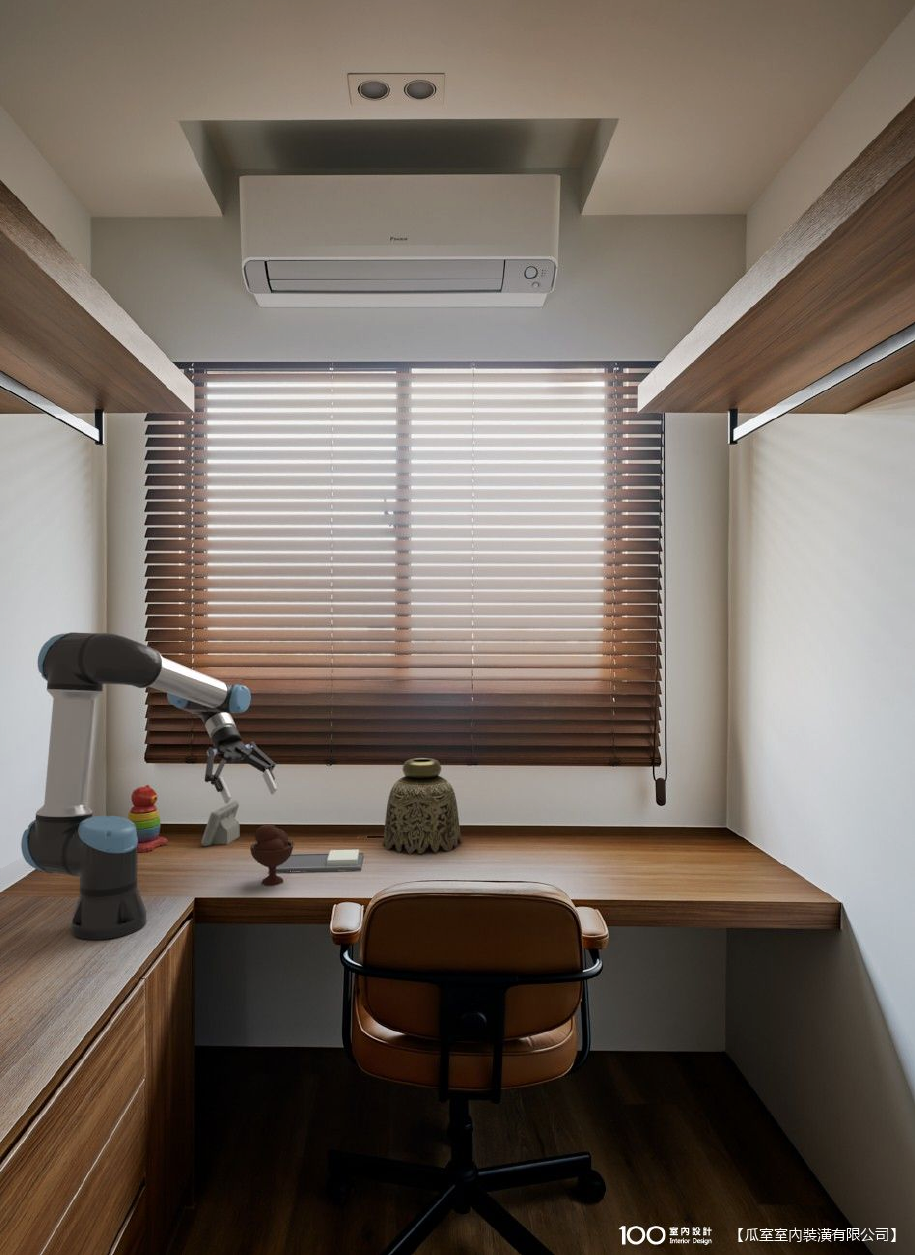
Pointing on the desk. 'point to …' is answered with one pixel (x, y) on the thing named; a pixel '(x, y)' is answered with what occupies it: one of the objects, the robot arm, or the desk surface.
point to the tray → (313, 863)
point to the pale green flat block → (343, 858)
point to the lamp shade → (422, 809)
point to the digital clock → (222, 825)
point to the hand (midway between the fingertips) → (251, 796)
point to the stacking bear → (146, 819)
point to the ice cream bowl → (271, 851)
